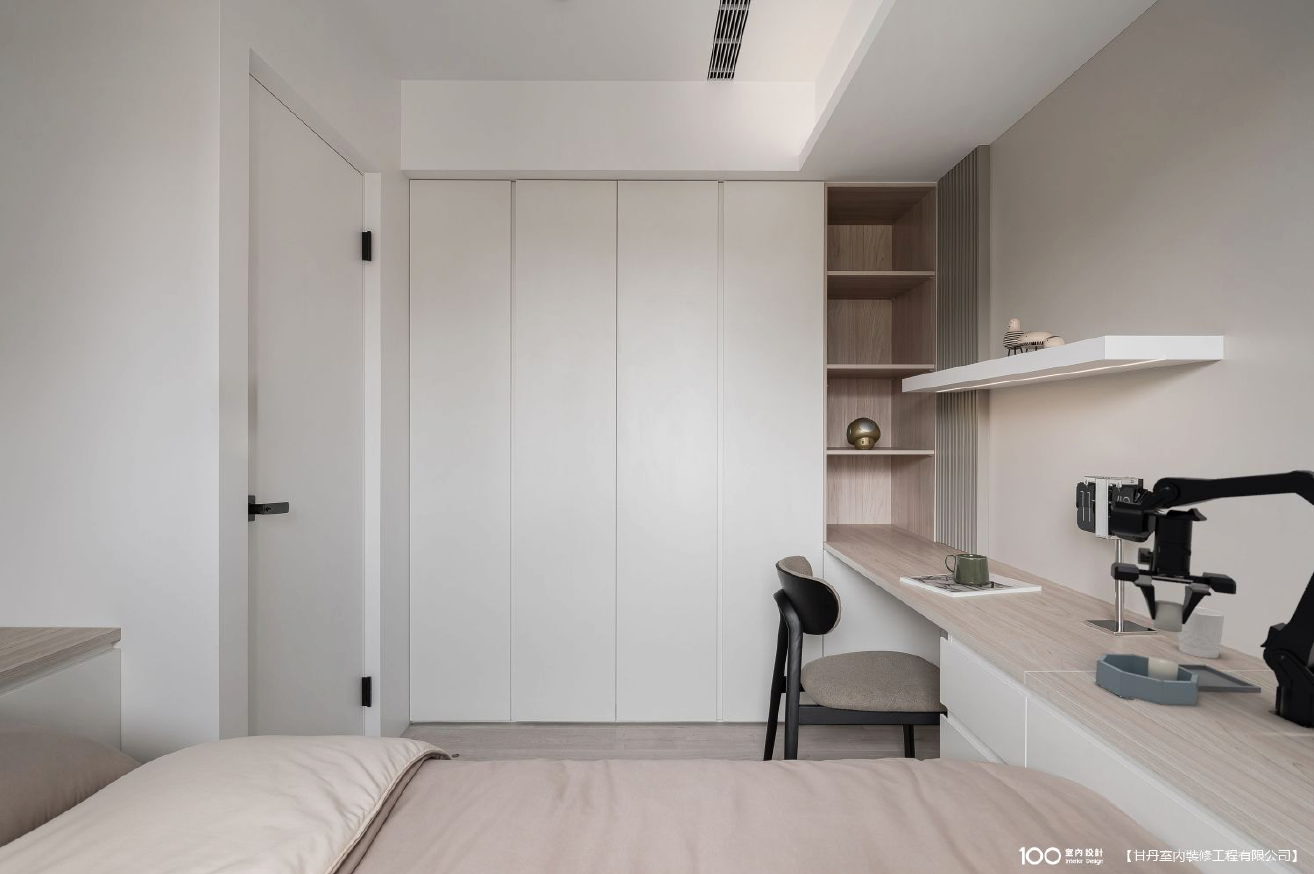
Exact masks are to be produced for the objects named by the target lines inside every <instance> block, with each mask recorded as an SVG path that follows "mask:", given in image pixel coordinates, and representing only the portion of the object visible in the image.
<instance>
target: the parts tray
mask: <svg viewBox="0 0 1314 874" xmlns="http://www.w3.org/2000/svg"><path fill="white" fill-rule="evenodd" d="M1178 666H1180V667H1182V668H1185V669H1187V670H1189V671H1192V672H1194V673H1196V674H1199V680H1198V692H1216V693H1218V692H1220V693H1224V692H1225V693H1253V694H1254V693H1255V694H1256V693H1259V694H1261V693H1262V687H1260V686H1258V685H1256V684H1253V683H1251V682H1248V681H1246V680H1243V679H1241V678H1238V677H1236V676H1234V675H1231V674H1229V673H1227V672H1224V671H1221V670H1219V669H1217V668H1214V667H1212V666H1210V665H1207V664H1199V663H1198V664H1197V663H1178Z"/></svg>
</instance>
